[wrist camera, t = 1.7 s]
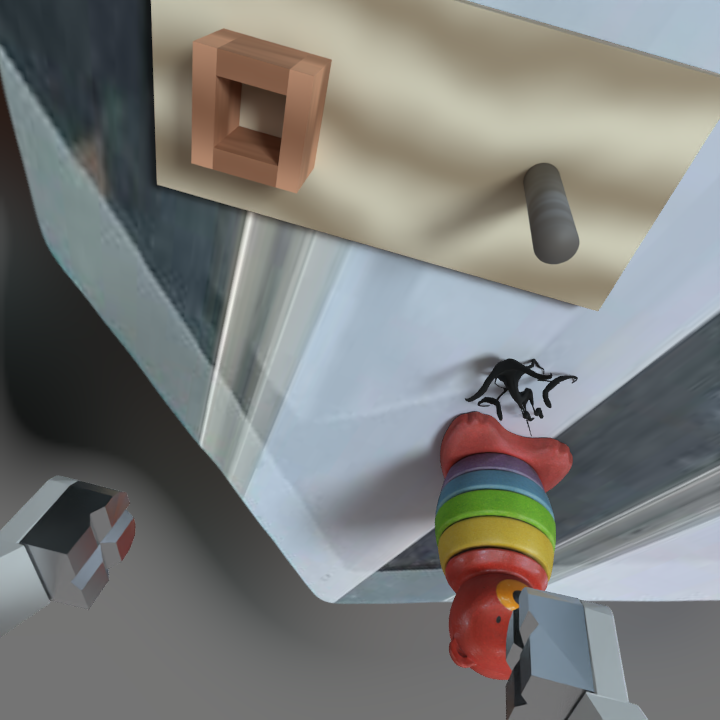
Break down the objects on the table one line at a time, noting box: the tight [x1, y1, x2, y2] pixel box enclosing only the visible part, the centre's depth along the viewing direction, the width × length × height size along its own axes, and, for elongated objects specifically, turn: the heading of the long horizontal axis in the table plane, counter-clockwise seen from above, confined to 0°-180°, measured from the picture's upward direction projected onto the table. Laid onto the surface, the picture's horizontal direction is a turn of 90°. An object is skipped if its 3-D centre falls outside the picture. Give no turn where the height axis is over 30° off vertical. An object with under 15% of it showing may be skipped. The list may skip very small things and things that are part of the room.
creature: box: [465, 359, 578, 436], centre depth 40 cm, size 8×5×8 cm
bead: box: [191, 28, 332, 193], centre depth 29 cm, size 6×6×4 cm
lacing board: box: [151, 0, 720, 311], centre depth 28 cm, size 14×30×10 cm, turn 77°
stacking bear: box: [435, 412, 573, 680], centre depth 41 cm, size 11×10×18 cm
